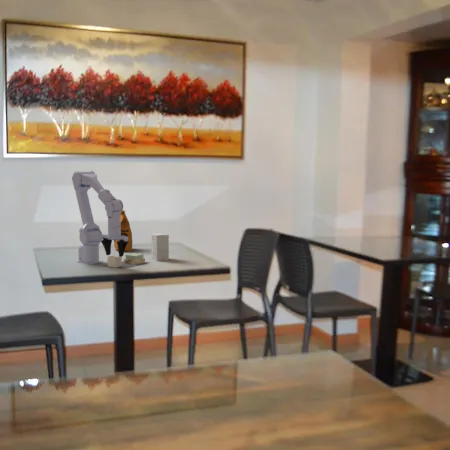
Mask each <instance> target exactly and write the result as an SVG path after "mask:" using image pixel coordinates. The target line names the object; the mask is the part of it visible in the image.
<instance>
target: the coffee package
mask: <svg viewBox="0 0 450 450" xmlns="http://www.w3.org/2000/svg"><path fill="white" fill-rule="evenodd" d="M121 236H126V237H128V244H127V245H126V248H125V250H124V252H132V250H133V233H132V229H131V225H130V222H129V219H128V217H127V215H126V210H124V209H123V210H122V211H121ZM113 239H115V238H113ZM118 241H119V240H113V245H114V248H115V249H116V251H118V252H119V249H118V245H117V242H118Z"/></svg>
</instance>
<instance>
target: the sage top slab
mask: <svg viewBox="0 0 450 450" xmlns="http://www.w3.org/2000/svg"><path fill="white" fill-rule="evenodd" d="M143 258H144V254H143V253H134V252H133V253H132V252H131V253H128V254H125V259H129V260H139V259H143Z"/></svg>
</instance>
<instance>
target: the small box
mask: <svg viewBox="0 0 450 450" xmlns="http://www.w3.org/2000/svg"><path fill="white" fill-rule="evenodd" d="M169 236H170V235H169V234H167V233H163V232H162V233H161V232H160V233H159V232H158V233H151V260H154V261H156V262H163V261H165V262H166V261H169V260H170V259H169V258H170V257H169V256H170V255H169V249H170V248H169V247H170V245H169V244H170V243H169V242H170V240H169V238H170V237H169Z"/></svg>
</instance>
